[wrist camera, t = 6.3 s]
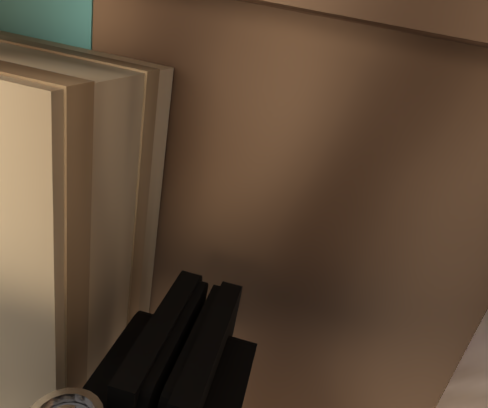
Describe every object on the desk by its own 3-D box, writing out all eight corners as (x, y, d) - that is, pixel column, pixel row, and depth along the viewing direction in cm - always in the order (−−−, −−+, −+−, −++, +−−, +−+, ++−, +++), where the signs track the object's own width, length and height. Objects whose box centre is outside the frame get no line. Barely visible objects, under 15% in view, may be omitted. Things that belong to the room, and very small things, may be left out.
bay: (619, 12, 9) (744, 1, 6) (371, 504, 16) (378, 598, 14) (-218, -134, 11) (-389, -186, 9) (-107, 348, 19) (-182, 401, 16)
